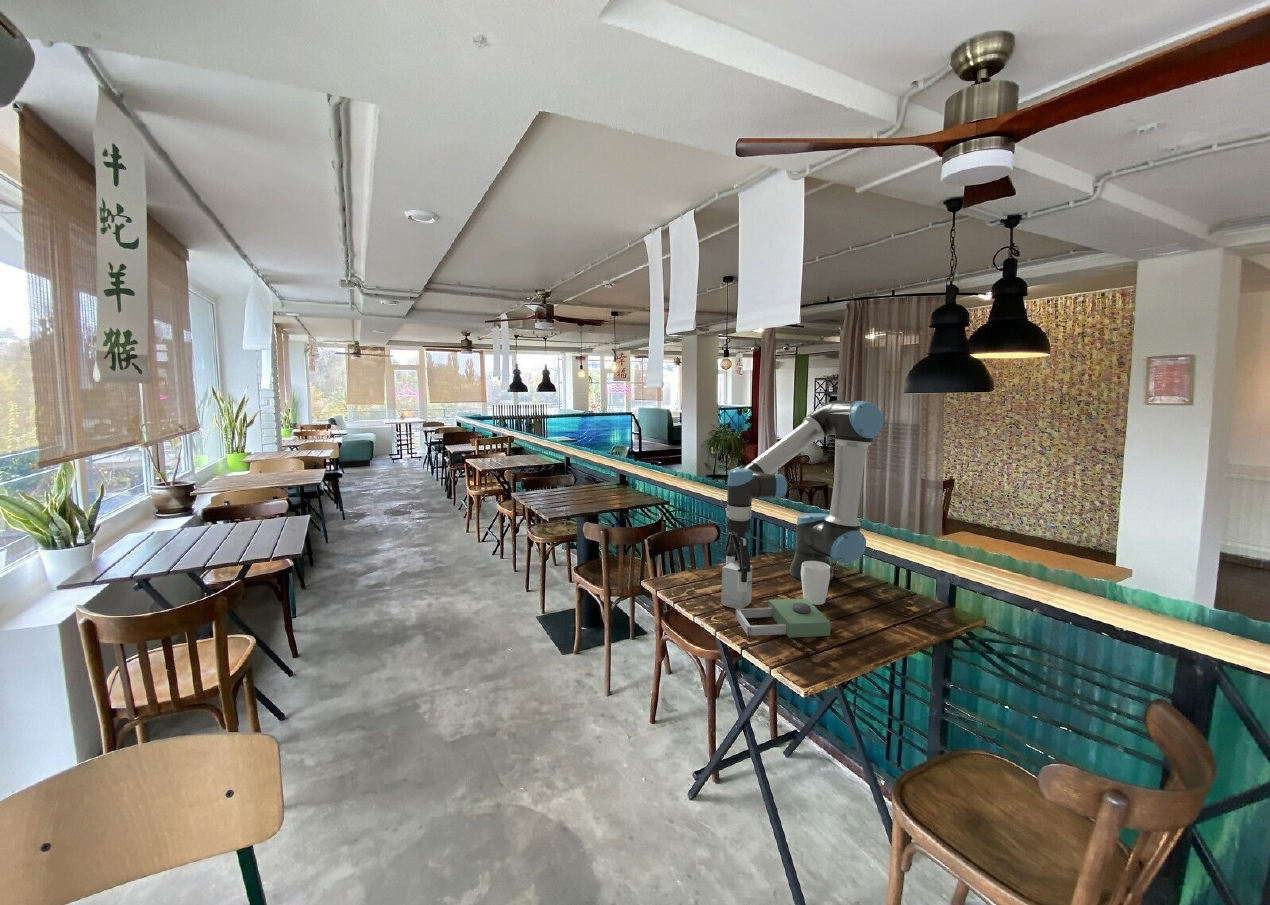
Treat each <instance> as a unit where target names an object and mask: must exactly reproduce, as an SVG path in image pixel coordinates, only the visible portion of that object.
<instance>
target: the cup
mask: <svg viewBox="0 0 1270 905" xmlns="http://www.w3.org/2000/svg"><path fill="white" fill-rule="evenodd" d="M830 581H831V580H830V566H829V565H828V564H826V563H823V562H819V561H805V562H803V563H802V567H801V588H802V597H803V598H802V599H807V600H808V601H809V602H810V603H811V604H812V605H814V606H821V605H824V604H825V603H826V599H827V595H828V589H829V585H830Z"/></svg>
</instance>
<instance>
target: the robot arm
mask: <svg viewBox="0 0 1270 905" xmlns="http://www.w3.org/2000/svg"><path fill="white" fill-rule="evenodd" d="M883 425H884V416H883V413H882V412H881V410H880V409H879V407H878V405H876V404H875V403H873V402H870V401H864V400H842V399H840V400H839V399H838V400H833V401H830V402H827V403H825V404H823V405H821V406H819V407H818V408H817V409H815V410H814V411H812V412H810V414H808V415H807V416H805V417H804V418H803V420H802V423H801V424H799V425H798V426H797V427H795V428H794V429H793V430H792V431H790V432H789V433H788V434H786V435H785V436H784V437H782V438H781V439H780V440H779V441H777V442H776V443H775V444H773V445H772V446H770V447H769V448H768V449H767V450H766V451H764V452H762V453H761V454H760V455H758V457H756V458H754V460H752V461H751V462H749V463H747V465H745V466H736V467H735V468H732V469H730V470H729V471H728V476H727V482H726V484H727V493H726V495H727V496H726V497H727V498H726V502H727V503H726V507H725V511H726V522H725V523H726V525H725V528H726V530H727V536H726V540H725V545H724V550H723V551H724V552H725V555H726V557H725V566H726V565H728V564H729V563H731V562H736V559H735V558H736V555H737V561H738V562H737V563H739V568H740V569H738V592H747V581H748V572H751V566H752V565H751V558H750V556H751V555H750V549H749V544H750V543H749V542H750V541H749V540H750V539H749V538H746V536H745V535H746V533H749V532H750V531H751V527H752V525H751V524H752V521H751V518H752V508H753V507H752V502H753V500H757V499H777V498H783V497H784V496H785V495H786V494H787V491H788V481H787V479H786V477H785V476H784V475H783V474H780V473H779V474H778V473H775V472H776V471H777V470H779V469H780V468H782V467H783V466H784V465H785V464H787V463H788V462H789V461H791V460H792V459H793V458H794V457H796V456H797V455H799V454H800V453H801V452H803V451H804V450H806V448H808V447H809V446H811V445H812V444H813V443H814V442H816V441H817V440H818V441H822V440H823V439H824V438H825V437H827V436H830V435H834V434H835V435H834V441H835V442H836V443H837V444H838V448H837V455H836V456H837V457H836V463H835V471H834V479H833V480H834V481H833V488H832V495H831V502H830V510H829V514H828V513H819V512H817V513H816V512H814V513H813V512H811V513H802V514H799V515H798V516H797V519H796V525H795V526H796V532H795V535H796V536H795V553H794V556H793V558H792V562H791V564H790V567H789V574H790V576H792V577H793V578H794V579H797V580H799V581H800V580H801V567H802V563H803V562H805V561H819V562H823V563H826V564H828V565H829V566H830V581H832V580H833V578H834V570H833V566H832V561H831V560H830V559H832V560H834V561H836V562H840V563H843V564H851V563H854V562H856V561H858V559H859V558H861V556H863V554H864V552H865V551H866V548H867V538H866V537H865V535H864V534H863V533H862V532H861V526H862V525H861V524H862V523H861V522H860V520H859V519H858V513H859V512H858V510H859V505H860V498H861V490H862V484H863V483H862V482H863V474H864V468H865V461H866V453H867V448H868V447H869V446H870V445H872V444H873V438H875V437H877V436H878V435H879V433H880V432H881V431H882V429H883ZM750 565H751V566H750ZM744 567H746V568H744ZM801 581H802V580H801Z"/></svg>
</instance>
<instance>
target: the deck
mask: <svg viewBox="0 0 1270 905" xmlns="http://www.w3.org/2000/svg"><path fill="white" fill-rule="evenodd" d="M734 615H735V619H736V620H737V621H738V623H739V625H740V626H741V627H742V629H743V630H744V632H745V634H746V635H747V637H753V636H755V637H756V636H771V635H772V636H773V635H775V636H776V635H785V636H787V637H788V638H790V639H791V638H804V637H805V638H806V637H826V636H831V625H832V622H831V620H829V619H828V618H827V617H826V616H825V615H824V614H823V613H822V612H821V610H819V609H818V608H817V607H816V605H814V604H811V603H810V602H809V601H808V600H807V599H803V598H790V599H788V598H787V599H786V598H785V599H769V600H768V607H751V608H750V607H749V608H743V609H735V614H734ZM749 618H750V619H751V618H772V620H774V621H775V623H776V624H759V625H758V624H755V625H751V624H750V622H749V621H748V620H747V619H749Z"/></svg>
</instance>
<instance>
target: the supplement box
mask: <svg viewBox="0 0 1270 905" xmlns="http://www.w3.org/2000/svg"><path fill="white" fill-rule="evenodd" d="M750 566H751V572H748V581H747V592H738V569H740V568H739V562H736V561H735V562H731V563H729V564H728V565H726V564H725V565H724V566H723V567H722V569H721V598H720V600H721V601H720V602H721V604H720V605H722V606H725V607H728V608H731V609H735V610H736V609H746V607H747V606H748V605H750V604H751V602H752V591H753V590H752V588H753V587H752V586H753V585H752V584H753V565H751V564H750ZM744 568H746V567H744Z"/></svg>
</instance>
